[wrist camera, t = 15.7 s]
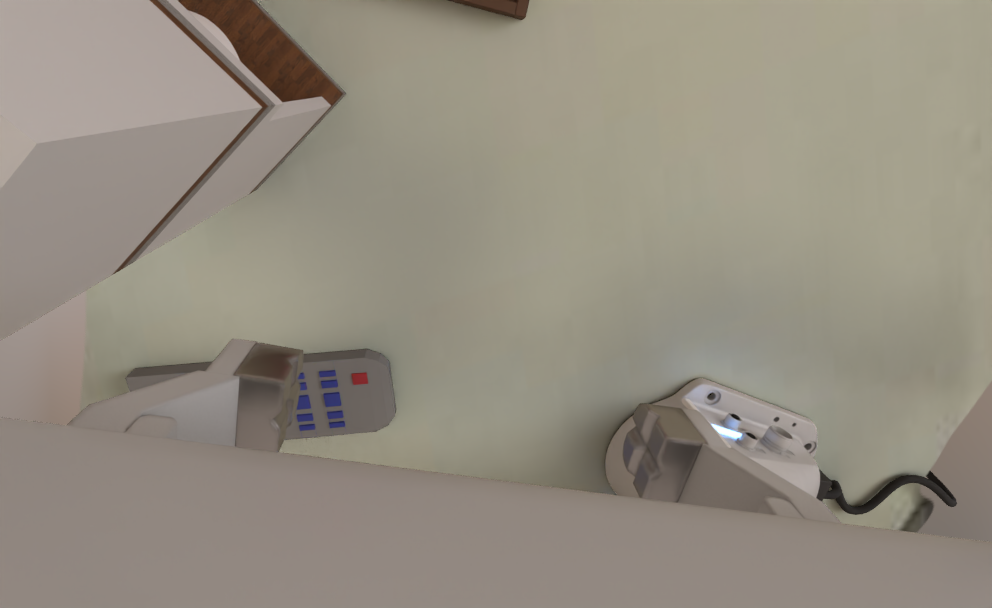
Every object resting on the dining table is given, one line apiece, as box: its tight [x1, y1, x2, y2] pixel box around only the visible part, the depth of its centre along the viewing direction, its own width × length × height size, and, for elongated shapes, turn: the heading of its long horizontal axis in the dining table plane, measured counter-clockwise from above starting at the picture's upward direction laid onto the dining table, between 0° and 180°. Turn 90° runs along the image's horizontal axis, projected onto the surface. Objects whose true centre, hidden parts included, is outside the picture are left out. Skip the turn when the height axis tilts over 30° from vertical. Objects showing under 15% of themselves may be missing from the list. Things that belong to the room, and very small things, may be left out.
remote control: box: [125, 349, 396, 440], centre depth 51 cm, size 8×23×2 cm, turn 93°
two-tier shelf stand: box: [0, 0, 346, 341], centre depth 26 cm, size 11×11×35 cm
